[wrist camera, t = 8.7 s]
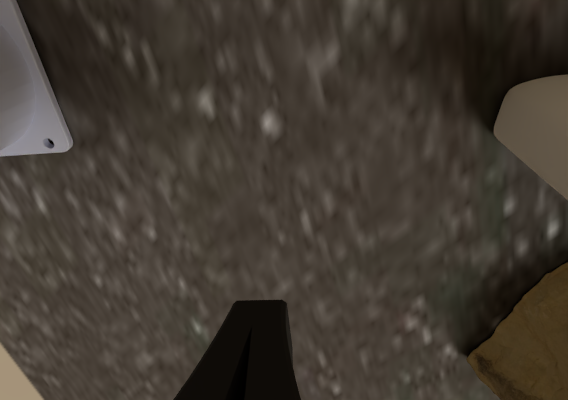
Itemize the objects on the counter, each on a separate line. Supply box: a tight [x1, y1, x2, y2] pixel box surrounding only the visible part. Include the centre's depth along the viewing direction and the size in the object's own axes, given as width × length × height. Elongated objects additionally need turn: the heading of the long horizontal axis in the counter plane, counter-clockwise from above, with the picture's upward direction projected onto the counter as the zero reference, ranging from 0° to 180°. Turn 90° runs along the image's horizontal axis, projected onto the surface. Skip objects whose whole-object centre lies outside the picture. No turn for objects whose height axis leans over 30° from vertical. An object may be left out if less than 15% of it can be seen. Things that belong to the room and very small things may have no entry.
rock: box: [467, 262, 568, 400], centre depth 19 cm, size 11×9×10 cm
